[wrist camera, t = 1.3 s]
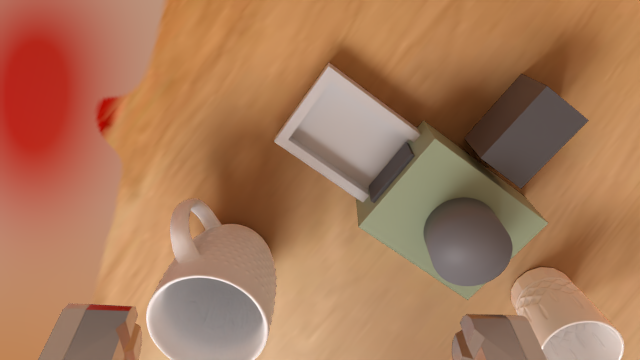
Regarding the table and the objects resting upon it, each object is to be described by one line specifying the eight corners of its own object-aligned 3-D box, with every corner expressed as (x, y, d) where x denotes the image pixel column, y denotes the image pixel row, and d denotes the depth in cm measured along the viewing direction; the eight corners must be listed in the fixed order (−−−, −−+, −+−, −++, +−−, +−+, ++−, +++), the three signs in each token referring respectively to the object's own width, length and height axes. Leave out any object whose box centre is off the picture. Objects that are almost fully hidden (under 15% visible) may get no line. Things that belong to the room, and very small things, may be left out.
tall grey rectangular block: (558, 103, 46) (588, 120, 40) (499, 165, 48) (521, 188, 43) (521, 73, 45) (547, 86, 39) (463, 137, 47) (480, 158, 42)
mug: (154, 194, 51) (97, 259, 39) (246, 161, 49) (216, 219, 37) (214, 300, 56) (180, 387, 44) (299, 274, 54) (288, 357, 42)
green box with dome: (524, 196, 50) (567, 245, 40) (454, 267, 53) (478, 326, 44) (335, 53, 45) (334, 71, 35) (271, 142, 48) (255, 179, 39)
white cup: (491, 301, 55) (522, 365, 46) (534, 250, 52) (576, 307, 43) (545, 328, 56) (586, 396, 47) (589, 280, 53) (642, 342, 44)
